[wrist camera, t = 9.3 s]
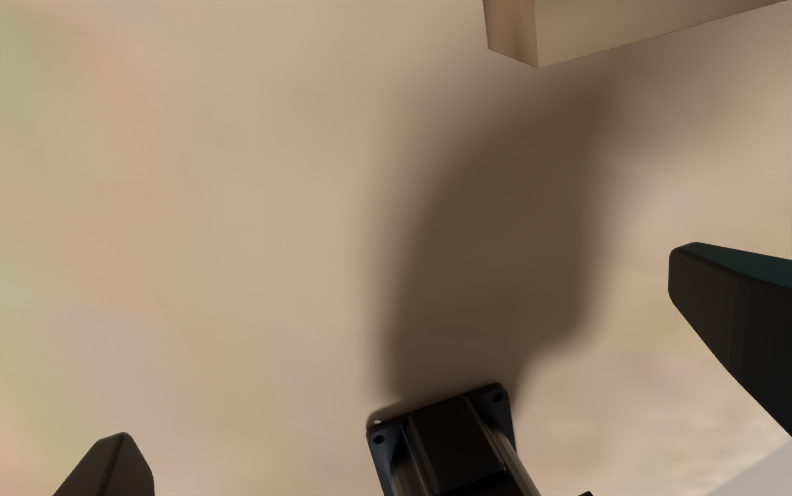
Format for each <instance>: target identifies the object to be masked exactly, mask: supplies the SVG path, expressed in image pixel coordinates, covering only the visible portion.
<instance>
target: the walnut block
mask: <svg viewBox="0 0 792 496" xmlns="http://www.w3.org/2000/svg"><path fill="white" fill-rule="evenodd" d="M782 1H785V0H483V6H484V15H485V24H486V32H487V41H488V49H490V50H493V51H495V52H498V53H500V54H503V55H506V56H508V57H511V58H513V59H516V60H518V61H521V62H524V63H526V64H529V65H531V66H534V67H537V68H543V67H546V66H550V65H553V64H557V63H561V62H564V61H568V60H572V59H575V58H579V57H582V56H586V55H590V54H593V53H597V52H600V51H604V50H608V49H611V48H615V47H619V46H622V45H626V44H629V43H633V42H637V41H640V40H644V39H648V38H651V37H655V36H658V35H662V34H666V33H669V32H673V31H677V30H680V29H684V28H687V27H691V26H695V25H698V24H702V23H705V22H709V21H713V20H716V19H720V18H724V17H727V16H731V15H734V14H738V13H742V12H745V11H749V10H753V9H756V8H760V7H763V6H767V5H771V4H774V3H778V2H782Z"/></svg>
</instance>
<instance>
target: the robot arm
mask: <svg viewBox="0 0 792 496" xmlns="http://www.w3.org/2000/svg"><path fill="white" fill-rule="evenodd" d="M668 292H669V296H670V298H671V300H672V302H673V304H674V305H675V306H676V308H677V309H678V310H679V311H680V313H681V314H682V315H683V316H684V318H685V319H686V320H687V321H688V323H689V324H690V325H691V326H692V328H693V329H694V330H695V331H696V333H697V334H698V335H699V336H700V338H701V339H702V340H703V341H704V343H705V344H706V345H707V347H708V348H709V349H710V350H711V352H712V353H713V354H714V355H715V357H716V358H717V359H718V360H719V361H720V363H721V364H722V365H723V366H724V367H725V369H726V370H727V371H728V372H729V373H730V374H731V375H732V376H733V377H734V378H735V379H736V381H737V382H738V383H739V384H740V385H741V386H742V387H743V388H744V389H745V390H746V391H747V392H748V393H749V394H750V395H751V396H752V397H753V398H754V399H755V400H756V401H757V402H758V403H759V404H760V405H761V406H762V407H763V408H764V409H765V410H766V411H767V412H768V413H769V414H770V415H771V416H772V417H773V418H774V419H775V420H776V421H777V422H778V424H779V425H780V426H781V427H782V428H783V429H784V430H785V431H786V432H787V433H788V434H789V435H790V436H791V437H792V260H789V259H784V258H778V257H773V256H768V255H763V254H758V253H752V252H747V251H742V250H737V249H731V248H726V247H721V246H716V245H711V244H705V243H700V242H692V243H689V244H686V245H683V246H680V247H677V248H675V249H673V250H672V251H671V253H670V256H669V278H668ZM497 393H498V394H497ZM495 394H497V395H496V396H494V395H495ZM378 435H381V436H380V437H377V438H375V437H376V436H378ZM366 438H367V442H368V445H369V448H370V451H371V455H372V458H373V461H374V464H375V467H376V471H377V474H378V477H379V480H380V483H381V487H382V490H383V493H384V496H541V495H540V493H539V491H538V490H537V488H536V486H535V485H534V483H533V481H532V479H531V478H530V476H529V474H528V473H527V471H526V469H525V468H524V466H523V464H522V462H521V461H520V459H519V457H518V456H517V454H516V448H515V441H514V434H513V427H512V419H511V412H510V405H509V398H508V393H507V391H506V389H505V388H504V386H503V385H502V384H500V383H493V384H490V385H487V386H484V387H482V388H479V389H476V390H473V391H470V392H467V393H464V394H462V395H459V396H456V397H453V398H450V399H447V400H445V401H442V402H439V403H436V404H433V405H430V406H427V407H425V408H422V409H419V410H416V411H413V412H410V413H407V414H405V415H402V416H399V417H396V418H393V419H390V420H387V421H385V422H382V423H379V424H376V425H374V426H372V427H370V428H369V429H368V430H367V432H366ZM53 496H155V491H154V480H153V475H152V472H151V469H150V467H149V465H148V464H147V462H146V460H145V459H144V457H143V455H142V454H141V452H140V450H139V448H138V447H137V445H136V443H135V442H134V440H133V438H132V437H131V436H130V435H129V434H128V433H125V432H121V433H118V434H115V435H112V436H109V437H106V438H103V439H100V440H98V441H97V442H96V443H95V444H94V445H93V446H92V447H91V448H90V450H89V451H88V452H87V453H86V455H85V456H84V457H83V458H82V460H81V461H80V462H79V463H78V465H77V466H76V467H75V468H74V470H73V471H72V472H71V473H70V475H69V476H68V477H67V478H66V480H65V481H64V482H63V483H62V485H61V486H60V487H59V488H58V490H57V491H56V492H55V493H54V495H53ZM579 496H593V495H592V494H591V492H590V491H587V492H585V493H583V494H581V495H579Z"/></svg>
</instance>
